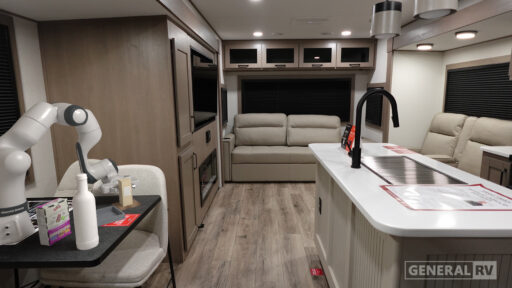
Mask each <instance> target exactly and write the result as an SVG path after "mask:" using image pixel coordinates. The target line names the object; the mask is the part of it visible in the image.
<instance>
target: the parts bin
mask: <svg viewBox="0 0 512 288" xmlns="http://www.w3.org/2000/svg"><path fill="white" fill-rule="evenodd" d="M96 217H97V228H98V227H101V226H105V225H108V224H111V223H115V222H118V221H122V220H126V213H125V212H123V210H122V211H121V210H119V209H118V208H117V207H115V206H114V205H113V206H112V205H110V206H107V207H102V208H98V209H97V208H96Z"/></svg>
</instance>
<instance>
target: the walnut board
mask: <svg viewBox="0 0 512 288" xmlns="http://www.w3.org/2000/svg"><path fill="white" fill-rule="evenodd" d="M132 201H133V204H131V205H127V206H124V207H123V206H122V205H121V204H120V201H117V202H113V203H111V204H110V206H113V205H114V206H115V207H117V208H118V209H119V210H121V211H122V212H123V211H125V210H128V209H132V208H135V207H136V208H137V207H141V206H140V205H142V206H143V204H142V203H141V202H139V201H137V200H136V199H135V198H132Z"/></svg>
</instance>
